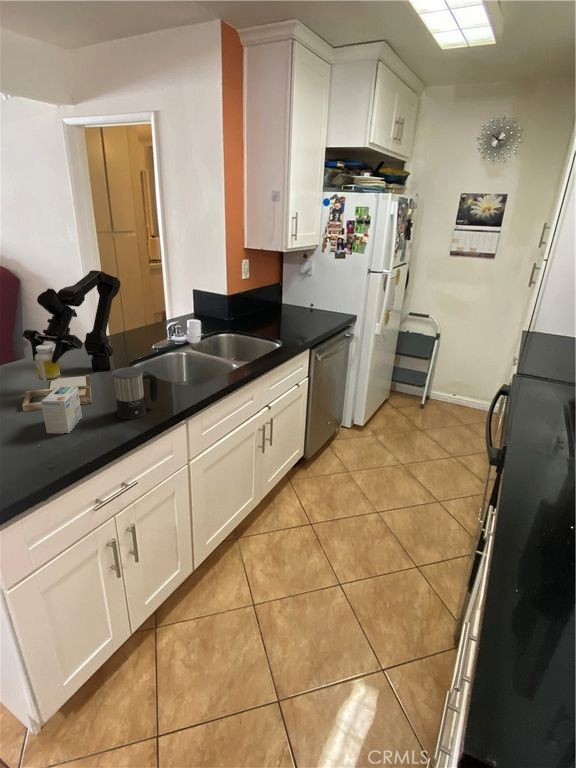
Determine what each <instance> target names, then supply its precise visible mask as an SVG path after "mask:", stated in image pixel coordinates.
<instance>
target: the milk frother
mask: <svg viewBox="0 0 576 768" xmlns="http://www.w3.org/2000/svg"><path fill="white" fill-rule="evenodd" d="M111 376H112V377H113V380H114V390H115V397H116V407H117V408H116V410H117V413H116V415H117V417H119V418H120V419H124V420H134V419H139V418H141V417H143V416H145V415H146V413H147V408H146V407H147V401H146V400H147V399H146V389H145V380H147V379H149V398H150V400H151V401H152V402H153V403H156V402H158V399H159V398H158V396H159V395H158V393H159V392H158V391H159V390H158V388H159V387H158V384H159V382H158V378H157V376H156V375H155V374H154V373H153V372H151V371H147V370H145V371H144V370H143V369H142V368H140V367H134V366H127V367H120V368H117V369H114V370H113V372H112V375H111Z"/></svg>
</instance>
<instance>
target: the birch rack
mask: <svg viewBox="0 0 576 768" xmlns="http://www.w3.org/2000/svg"><path fill="white" fill-rule="evenodd" d="M84 376H85V377H86V385H87V386H76V387H78V390H79V389H86V395H87V397H84V398H79V399H80V404H83V405H90V404H89V403H92V388H91V387H92V386H91V380H90V374H86V375H84ZM53 390H54V389H50V388H48V389H46V388H45V389H37V390H27V391H26V393H25V395H24V399H23V401H22V409H23V411H22V412H27V411H29V412H30V411H37V410H42V404H41V401H39V402H31V400H32V398H39V397H46V396H48V395H49V394H50V393H51V392H52V391H53Z"/></svg>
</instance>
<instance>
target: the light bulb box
mask: <svg viewBox="0 0 576 768" xmlns="http://www.w3.org/2000/svg"><path fill="white" fill-rule="evenodd" d="M40 402H41V404H42V409H41V410H42V415H43V421H44V425H45V430H46V433H47V434H64V433H69V434H70V433H71V432H70V431H72V430H73V429H74V428H75V427H76V426H77V424H78V423H79V422H80V421H81V420H80V419H82V418H83V415H82V407H81V405H80V399H79V391H78V387H56V388H55V389H54V390H53V391H52V392H51V393H50V394H49V395H48V396H44V398H42V400H41V401H40ZM79 420H80V421H79ZM75 425H76V426H75Z"/></svg>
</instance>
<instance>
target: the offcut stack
mask: <svg viewBox="0 0 576 768" xmlns="http://www.w3.org/2000/svg"><path fill="white" fill-rule="evenodd" d="M78 391H79V398H84V397H87V395H86V389H79V390H78Z"/></svg>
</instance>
